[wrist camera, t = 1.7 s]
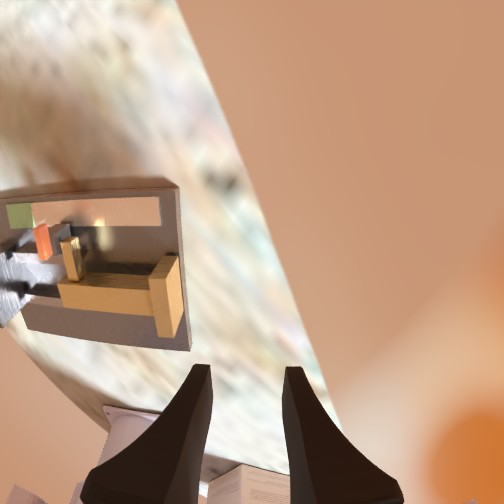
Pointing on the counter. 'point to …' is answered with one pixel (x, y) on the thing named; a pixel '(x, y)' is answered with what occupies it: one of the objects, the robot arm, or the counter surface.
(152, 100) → the counter surface
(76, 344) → the counter surface
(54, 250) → the orange and grey block
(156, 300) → the wooden u-shaped cradle
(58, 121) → the counter surface
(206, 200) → the counter surface
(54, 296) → the gauge base
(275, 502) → the supplement box
